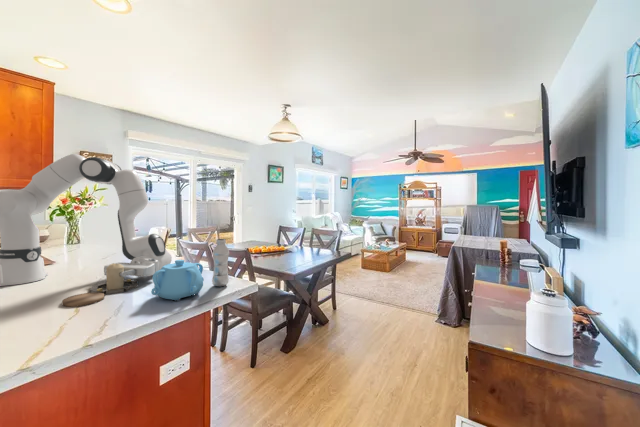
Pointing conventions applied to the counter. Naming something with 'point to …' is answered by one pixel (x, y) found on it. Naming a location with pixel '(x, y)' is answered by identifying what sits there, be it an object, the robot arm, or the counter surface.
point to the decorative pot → (178, 280)
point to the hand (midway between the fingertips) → (113, 274)
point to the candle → (114, 276)
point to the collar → (100, 289)
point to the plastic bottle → (220, 263)
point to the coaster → (83, 299)
